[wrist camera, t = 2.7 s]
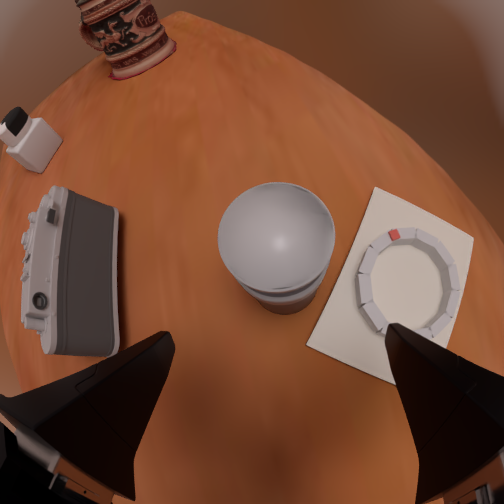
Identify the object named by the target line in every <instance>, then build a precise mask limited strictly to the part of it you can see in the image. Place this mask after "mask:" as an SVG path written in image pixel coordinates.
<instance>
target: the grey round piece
mask: <svg viewBox="0 0 504 504" xmlns="http://www.w3.org/2000/svg"><path fill="white" fill-rule="evenodd" d="M334 243H335V227H334V223H333V219H332V217H331V214H330V212H329V210H328V209H327V207H326V206H325V204H324V203H323V202H322V201H321V200H320V199H319V198H318V197H317V196H316V195H315V194H313V193H312V192H310V191H309V190H307V189H305V188H303V187H301V186H298V185H295V184H290V183H283V182H272V183H265V184H261V185H258V186H255V187H253V188H251V189H249V190H247V191H245V192H244V193H242V194H241V195H239V196H238V197H237V198H236V199H235V200H234V201H233V202H232V203H231V204H230V205H229V207H228V208H227V210H226V211H225V213H224V215H223V217H222V219H221V222H220V225H219V230H218V246H219V252H220V254H221V257H222V260H223V262H224V264H225V265H226V267H227V268H228V269H229V271H230V272H231V273H232V274H233V275H234V277H235V278H236V280H237V281H238V282H239V283H240V285H241V286H242V287H243V288H244V289H245V290H246V291H247V292H248V293H249V294H250V295H251V296H253V297H254V298H256V299H257V300H258V301H259V303H260V304H261V305H262V306H263V307H265V308H266V309H267V310H269V311H271V312H273V313H276V314H282V315H288V314H293V313H296V312H299V311H301V310H303V309H304V308H305V307H307V306H308V305H309V304H310V302H311V301H312V300H313V298H314V296H315V294H316V291H317V289H318V286H319V285H320V284H321V282H322V280H323V278H324V276H325V273H326V271H327V268H328V265H329V262H330V258H331V254H332V252H333V248H334Z"/></svg>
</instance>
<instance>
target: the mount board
mask: <svg viewBox="0 0 504 504" xmlns="http://www.w3.org/2000/svg"><path fill="white" fill-rule="evenodd" d="M473 241H474V238H473V237H471V236H470V235H468V234H466V233H465V232H463V231H461V230H460V229H458V228H456V227H454V226H453V225H451V224H449V223H447V222H445V221H444V220H442V219H440V218H438V217H436V216H434V215H432V214H431V213H429V212H427V211H425V210H423V209H421V208H419V207H417V206H415V205H413V204H411V203H409V202H407V201H405V200H403V199H401V198H399V197H397V196H394V195H392V194H390V193H388V192H386V191H384V190H381V189H379V188H377V187H375V188H374V190H373V193H372V196H371V199H370V201H369V204H368V207H367V209H366V212H365V215H364V217H363V220H362V223H361V225H360V228H359V230H358V233H357V235H356V238H355V240H354V243H353V245H352V247H351V250H350V252H349V255H348V257H347V259H346V262H345V264H344V266H343V269H342V271H341V273H340V275H339V278H338V280H337V282H336V284H335V286H334V289H333V291H332V293H331V295H330V297H329V299H328V301H327V304H326V306H325V308H324V310H323V312H322V314H321V316H320V318H319V320H318V322H317V324H316V326H315V328H314V330H313V332H312V334H311V336H310V338H309V340H308V342H307V344H306V345H307V346H309V347H311V348H313V349H316V350H318V351H320V352H322V353H324V354H326V355H328V356H330V357H333V358H335V359H337V360H339V361H341V362H344V363H346V364H348V365H350V366H352V367H355V368H357V369H359V370H361V371H364V372H366V373H368V374H371V375H373V376H375V377H378V378H380V379H382V380H385V381H387V382H390V383H392V384H395V381H394V378H393V375H392V372H391V369H390V364H389V360H388V356H387V351H386V347H385V335H386V331H387V327H388V325H389V324H390V323H399V324H401V325H403V326H405V327H407V328H409V329H411V330H412V331H414V332H416V333H418V334H420V335H422V336H423V337H425V338H427V339H429V340H431V341H433V342H434V343H436V344H438V345H440V346H442V347H444V348H445V349H446V347H447V344H448V341H449V338H450V335H451V332H452V329H453V326H454V323H455V320H456V316H457V313H458V310H459V306H460V302H461V299H462V295H463V291H464V287H465V283H466V278H467V274H468V269H469V264H470V259H471V253H472V247H473ZM395 385H396V384H395Z"/></svg>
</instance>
